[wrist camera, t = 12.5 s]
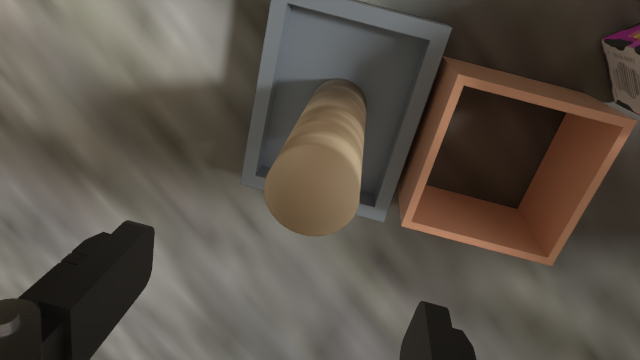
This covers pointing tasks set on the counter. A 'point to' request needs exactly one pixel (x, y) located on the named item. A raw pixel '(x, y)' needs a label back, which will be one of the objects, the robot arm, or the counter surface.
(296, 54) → the slate tray
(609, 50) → the candy bar box
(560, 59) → the counter surface
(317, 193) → the wooden dowel
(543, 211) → the terracotta square open box
